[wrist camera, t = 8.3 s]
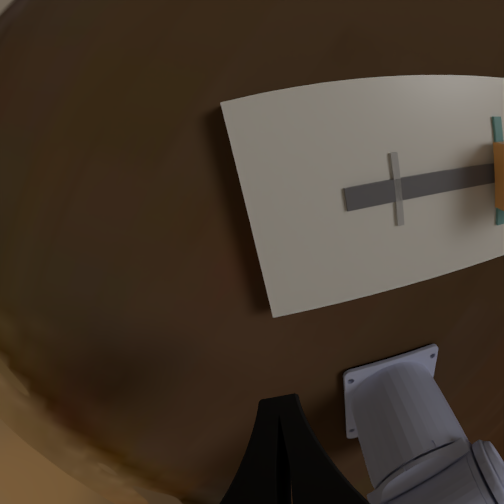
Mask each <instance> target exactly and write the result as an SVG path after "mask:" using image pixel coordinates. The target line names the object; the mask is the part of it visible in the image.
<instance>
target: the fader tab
mask: <svg viewBox="0 0 504 504" xmlns="http://www.w3.org/2000/svg"><path fill="white" fill-rule="evenodd" d="M493 152H494V171H495V207H496V208H498V209H501V210H503V211H504V141H502V142H493Z"/></svg>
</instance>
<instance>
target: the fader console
mask: <svg viewBox="0 0 504 504" xmlns="http://www.w3.org/2000/svg"><path fill="white" fill-rule="evenodd" d="M220 104H221V108H222V112H223V116H224V120H225V124H226V128H227V132H228V136H229V140H230V144H231V148H232V152H233V156H234V160H235V164H236V168H237V172H238V176H239V180H240V184H241V188H242V192H243V196H244V200H245V205H246V209H247V213H248V217H249V221H250V225H251V229H252V233H253V237H254V241H255V245H256V249H257V254H258V258H259V262H260V266H261V270H262V274H263V278H264V282H265V286H266V291H267V295H268V299H269V303H270V307H271V311H272V315H273V318H274V317H279V316H284V315H288V314H293V313H298V312H302V311H307V310H311V309H315V308H320V307H324V306H328V305H332V304H337V303H341V302H345V301H349V300H353V299H357V298H361V297H365V296H369V295H372V294H376V293H380V292H384V291H388V290H391V289H395V288H399V287H402V286H406V285H409V284H413V283H416V282H420V281H423V280H427V279H430V278H433V277H437V276H440V275H443V274H447V273H450V272H453V271H456V270H460V269H463V268H466V267H469V266H472V265H475V264H478V263H481V262H484V261H487V260H490V259H493V258H496V257H499V256H502V255H504V211H503V210H501V209H498V208H496V207H495V171H494V152H493V142H502V141H504V78H496V77H482V76H462V75H409V76H388V77H373V78H361V79H351V80H342V81H334V82H326V83H318V84H312V85H305V86H299V87H293V88H287V89H281V90H276V91H271V92H266V93H261V94H256V95H251V96H247V97H242V98H238V99H234V100H229V101H225V102H221V103H220Z"/></svg>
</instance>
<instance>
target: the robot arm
mask: <svg viewBox="0 0 504 504" xmlns="http://www.w3.org/2000/svg"><path fill="white" fill-rule="evenodd" d="M431 354H432V355H431ZM437 354H438V347H437V345H436V344H431V345H428V346H425V347H422V348H420V349H417V350H414V351H411V352H408V353H404V354H401V355H398V356H395V357H392V358H388V359H385V360H382V361H378V362H375V363H371V364H368V365H364V366H361V367H357V368H353V369H349V370H347V371H345V372H344V374H343V382H344V397H345V417H346V436H347V438H349V439H352V438H356V437H358V438H359V442H360V445H361V449H362V452H363V456H364V459H365V463H366V466H367V470H368V473H369V477H370V480H371V483H372V485H373V487H374V488H375V490H374V491H373V492H371V493H369V494H367V498H368V501H367V500H366V499H365V498H364V497H363V496H362V495H361V494H360V493H359V492H358V491H357V490H356V489H355V488H354V487H353V486H352V485H351V484H350V482H349V481H348V480H347V479H346V478H345V477H344V475H343V474H342V473H341V472H340V471H339V469H338V468H337V467H336V466H335V464H334V463H333V462H332V460H331V459H330V457H329V456H328V455H327V453H326V452H325V450H324V449H323V447H322V446H321V444H320V442H319V441H318V439H317V437H316V436H315V434H314V432H313V430H312V429H311V427H310V425H309V423H308V421H307V419H306V417H305V414H304V412H303V410H302V407H301V404H300V401H299V396H298V395H297V394H289V395H284V396H279V397H273V398H268V399H262V400H260V401H259V405H258V411H257V416H256V420H255V424H254V428H253V432H252V435H251V438H250V441H249V444H248V447H247V450H246V452H245V455H244V457H243V460H242V462H241V464H240V467H239V469H238V471H237V473H236V475H235V477H234V479H233V481H232V483H231V485H230V487H229V489H228V491H227V492H226V494H225V496H224V497H223V499H222V501H221V502H220V504H291V484H292V498H293V504H504V462H503V460H502V458H501V457H500V455H499V454H498V452H497V450H496V449H495V447H494V446H493V445H492V443H491V442H490V441H482V440H478V441H476V442H475V443H474V444H471V443H470V442H469V441H468V439H467V437H466V435H465V433H464V431H463V429H462V428H461V426H460V424H459V422H458V420H457V419H456V417H455V415H454V413H453V411H452V410H451V408H450V406H449V404H448V403H447V401H446V399H445V397H444V396H443V394H442V392H441V391H440V389H439V387H438V386H437V384H436V382H435V380H434V379H433V376H434V371H435V365H436V360H437ZM350 379H351V380H350Z"/></svg>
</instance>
